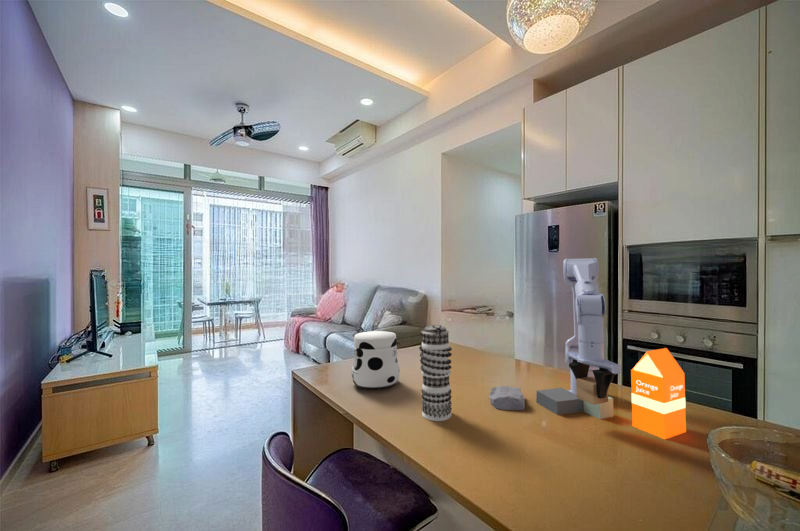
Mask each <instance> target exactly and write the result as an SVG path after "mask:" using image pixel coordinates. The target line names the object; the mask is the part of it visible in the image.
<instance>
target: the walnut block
mask: <svg viewBox="0 0 800 531" xmlns="http://www.w3.org/2000/svg"><path fill="white" fill-rule="evenodd" d="M576 386H577V398H578V399H581V400H583V401H586V402H588V403H590V404H593V405H595V404H600V403H605V402H608V397H609V391H607V395H606V398H601V399H600V398H598V396H597V385H596V380H595V378H594V377H591V376H590V377H584V378H578V379H576Z"/></svg>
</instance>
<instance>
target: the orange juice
mask: <svg viewBox="0 0 800 531" xmlns="http://www.w3.org/2000/svg"><path fill="white" fill-rule="evenodd" d="M630 379H631V380H630V382H631V383H630V384H631V387H630V388H631V416H632V418H631V419H632V420H631V422H632V424H631V425H632V428H633V427H634V428H636V429H638V430H640V431H643V432H644V433H645V432H646V433H648V434H651V435H653V436H656V437H658V438H660V439H662V440H667V439H670V438H673V437H675V436H679V435H682V434H684V433H687V423H686V422H687V417H686V416H687V415H686V414H687V412H686V408H687V406H686V401H687V400H686V384H685V381H686V380H685V372H684V371H683V369H682V367H681V366H680V365H679V363H678V362H677V360H676V359H675V358H674V356H673V354H671V352H670V350H669V349H668V348H667V347H664V348H658V349H653V350H647V351H645V353H644V355H642V357H641V358H640V359H639V361H638V362H636V364H635V366H634V367H633V368H632V369H630Z"/></svg>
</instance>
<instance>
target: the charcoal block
mask: <svg viewBox="0 0 800 531" xmlns="http://www.w3.org/2000/svg"><path fill="white" fill-rule="evenodd" d="M536 403H537V404H538V405H539V406H542V407H543V408H545V409H547V411H550V412H552V413H553V414H555V415H558V416H559V415H565V414H566V415H567V414H573V413H580V412H584V401H583V400H581V399H578V398H577V395H576V394H574V393H572V392H570V391H567V389H565V388H563V387H556V388H548V389H540V390H536Z"/></svg>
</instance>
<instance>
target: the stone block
mask: <svg viewBox="0 0 800 531" xmlns="http://www.w3.org/2000/svg"><path fill="white" fill-rule="evenodd" d="M521 390H522V389H521V388H520V387H513V386H508V385H507V386H506V385H501V386H500V385H499V386H495V387H492V388H491V389H490V392H489V398H488V399H490V400H489V401H490V404H491V405H492V406H493V407H494V408H495V409H497V410H505V411H508V410H509V411H513V410H514V411H525V410H526V406H525V403H526V401H525V397H524V394H523V393H522V391H521Z"/></svg>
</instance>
